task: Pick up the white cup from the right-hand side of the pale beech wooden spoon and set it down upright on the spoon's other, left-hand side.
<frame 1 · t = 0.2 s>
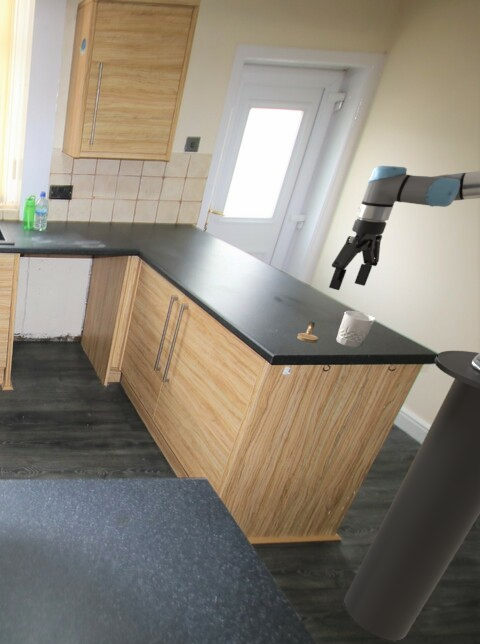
hand: (347, 286, 151), 19 cm above the counter, tool pointing down, fingers open, 13 cm apart
white cup: (348, 343, 156), on the counter
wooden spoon: (308, 334, 162), on the counter
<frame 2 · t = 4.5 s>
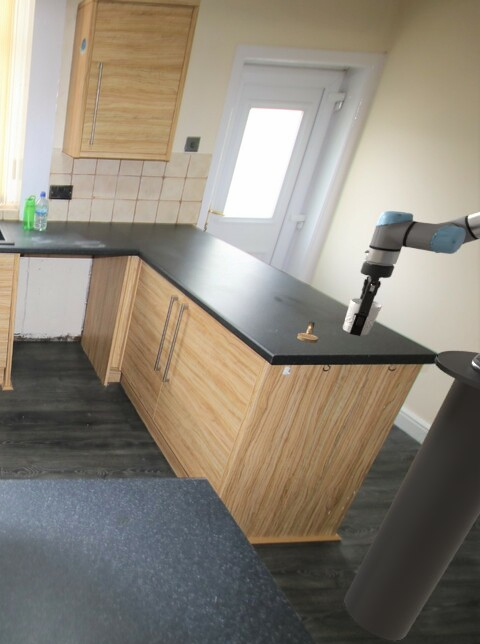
hand: (355, 330, 154), 5 cm above the counter, tool pointing down, fingers closed on white cup, 8 cm apart
white cup: (354, 331, 154), point 4 cm above the counter, touching gripper
when the fingers open (0 cm above the counter, at t = 11.2 s): white cup stays where it is, on the counter.
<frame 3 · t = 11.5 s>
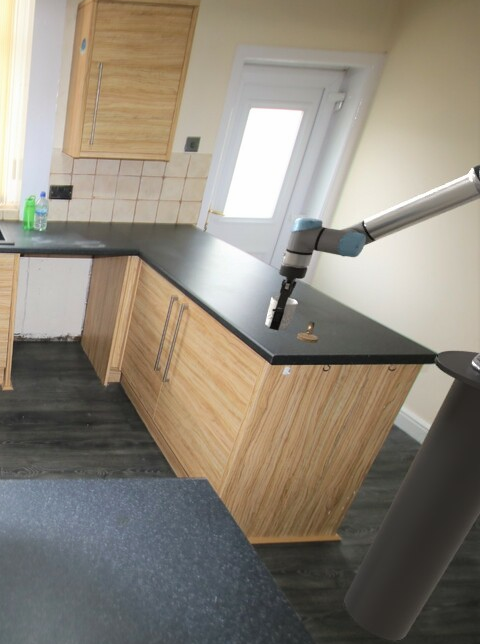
hand: (276, 324, 167), 1 cm above the counter, tool pointing down, fingers open, 11 cm apart
white cup: (275, 326, 168), on the counter
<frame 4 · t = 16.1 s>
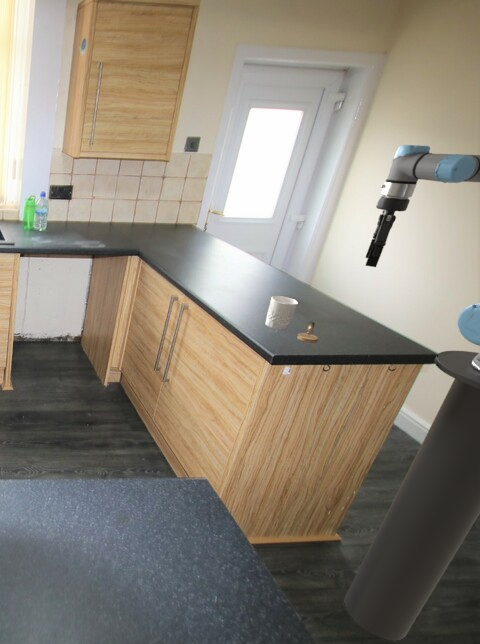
hand: (370, 262, 157), 25 cm above the counter, tool pointing down, fingers open, 13 cm apart
nothing on the counter moved.
at the end: white cup inside the target area (0.4 cm from its centre), on the counter; white cup tilted 2°; the gripper is holding nothing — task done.
